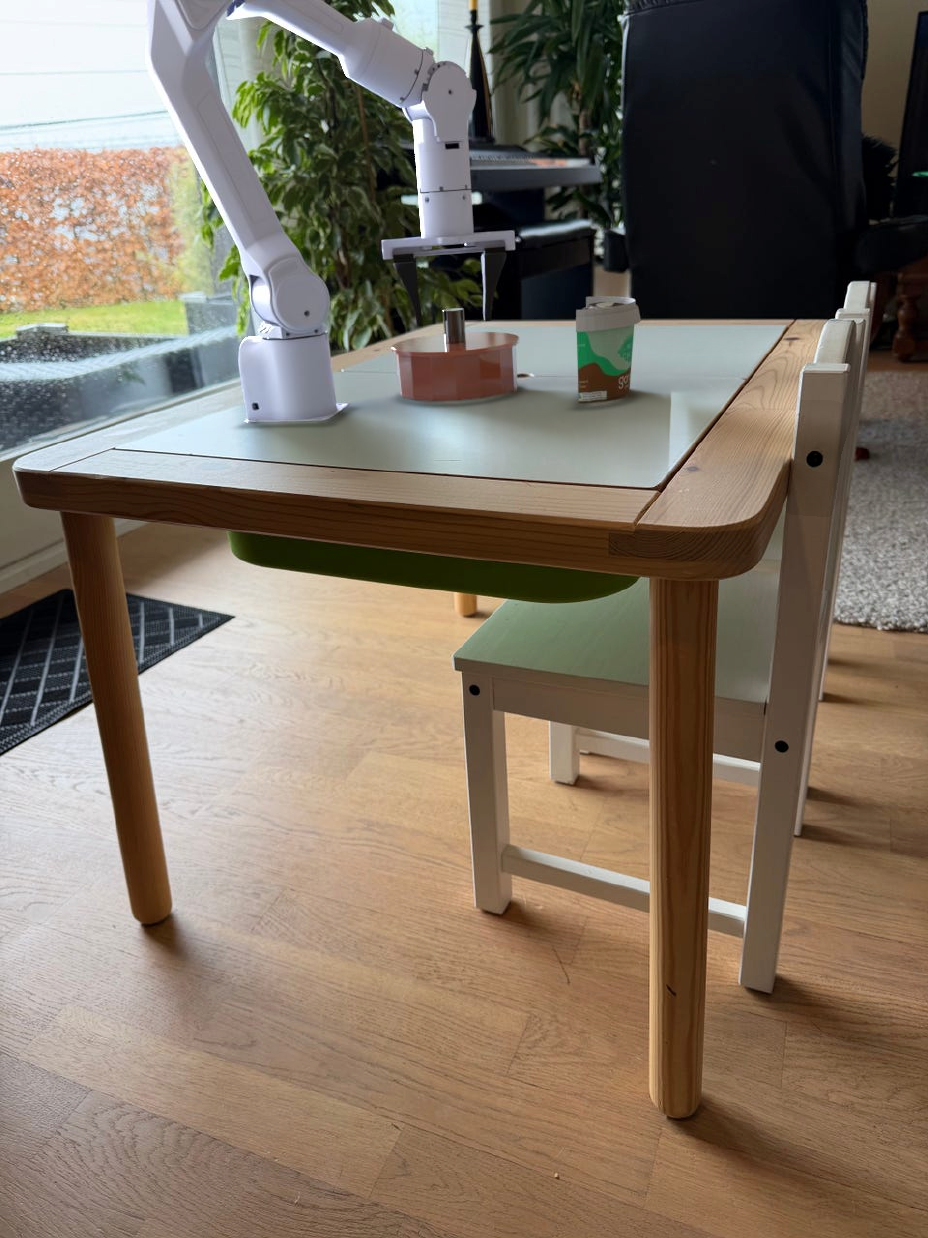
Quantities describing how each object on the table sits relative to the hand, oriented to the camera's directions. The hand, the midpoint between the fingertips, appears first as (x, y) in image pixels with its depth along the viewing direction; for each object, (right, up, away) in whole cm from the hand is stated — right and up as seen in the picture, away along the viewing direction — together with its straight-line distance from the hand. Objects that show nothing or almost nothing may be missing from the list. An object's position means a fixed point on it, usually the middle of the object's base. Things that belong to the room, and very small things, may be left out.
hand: (453, 322), depth 107 cm
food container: (+17, -10, -5) cm, 20 cm away
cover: (0, -2, +1) cm, 3 cm away
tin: (0, -7, +3) cm, 8 cm away
